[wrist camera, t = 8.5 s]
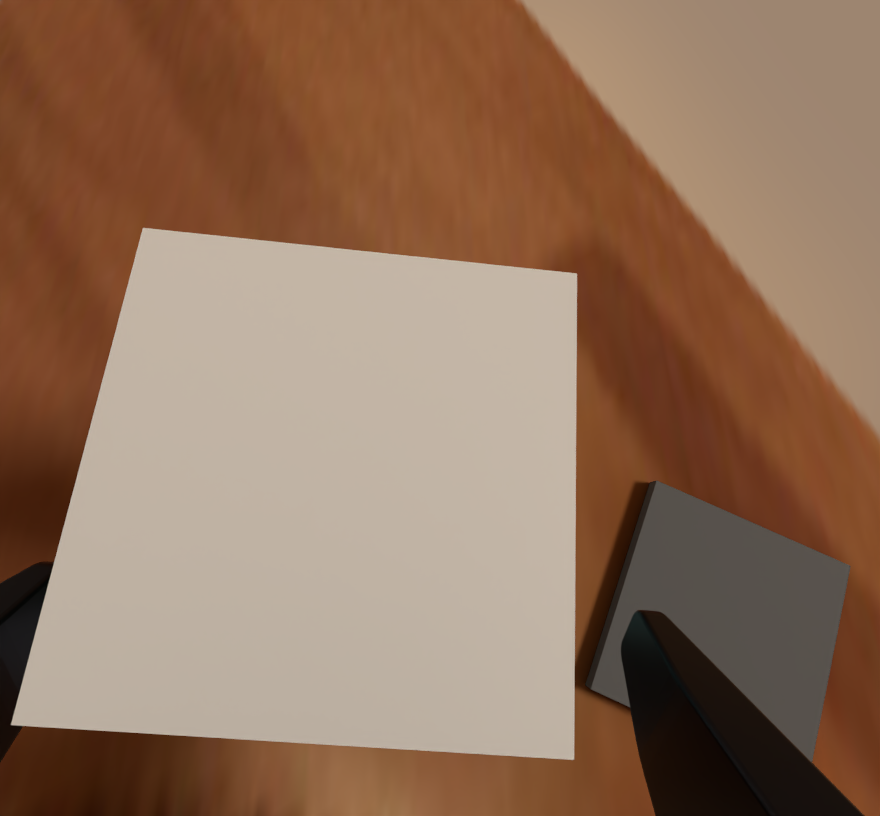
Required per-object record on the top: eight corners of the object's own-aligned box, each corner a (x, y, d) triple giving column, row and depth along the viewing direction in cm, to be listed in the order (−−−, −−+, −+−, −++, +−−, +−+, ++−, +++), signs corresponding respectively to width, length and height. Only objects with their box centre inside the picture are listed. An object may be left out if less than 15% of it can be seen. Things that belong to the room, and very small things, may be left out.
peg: (450, 604, 16) (607, 800, 4) (308, 593, 16) (-37, 763, 3) (459, 463, 17) (602, 253, 5) (327, 451, 17) (121, 201, 5)
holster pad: (794, 781, 16) (806, 789, 15) (585, 684, 16) (590, 689, 16) (838, 565, 18) (850, 565, 17) (649, 482, 18) (656, 480, 18)
